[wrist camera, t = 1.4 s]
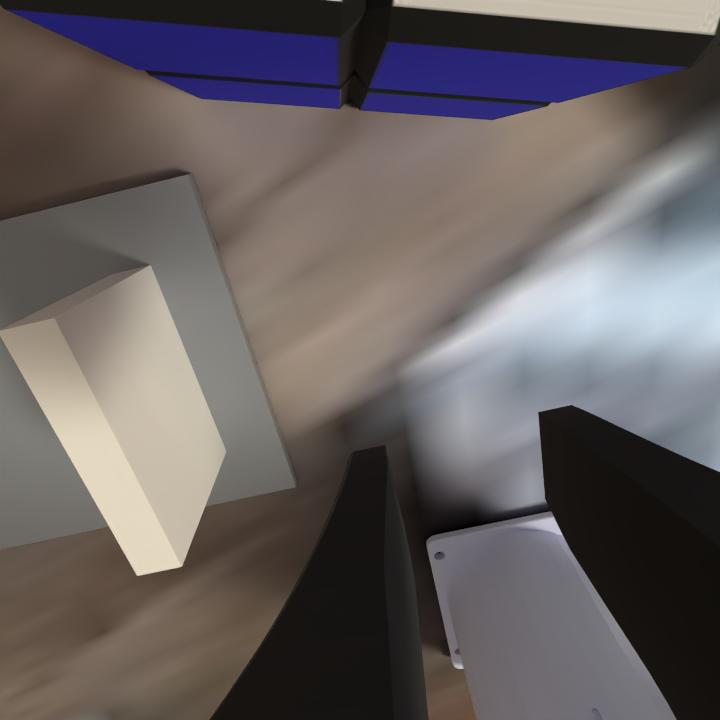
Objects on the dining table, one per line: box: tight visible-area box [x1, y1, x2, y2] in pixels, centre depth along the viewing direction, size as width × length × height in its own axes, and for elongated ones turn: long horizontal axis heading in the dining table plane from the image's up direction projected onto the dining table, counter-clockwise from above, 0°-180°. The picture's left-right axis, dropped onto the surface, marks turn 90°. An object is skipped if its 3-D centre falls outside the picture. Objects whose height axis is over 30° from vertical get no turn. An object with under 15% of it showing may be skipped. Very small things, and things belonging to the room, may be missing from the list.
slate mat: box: [0, 174, 297, 550], centre depth 18 cm, size 13×14×1 cm
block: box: [0, 265, 226, 576], centre depth 15 cm, size 8×2×6 cm, turn 13°
